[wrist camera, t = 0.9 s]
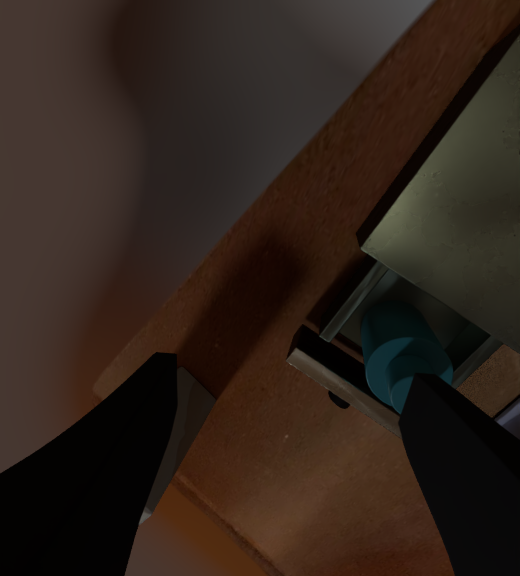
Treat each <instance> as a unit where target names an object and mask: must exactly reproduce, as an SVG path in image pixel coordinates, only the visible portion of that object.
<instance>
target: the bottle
mask: <svg viewBox="0 0 520 576" xmlns="http://www.w3.org/2000/svg"><path fill="white" fill-rule="evenodd" d="M360 333H361V341H362V349H363V357H364V365H365V373H366V379H367V383H368V385H369V387H370V389H371V391H372V392H373V393H374V394H375V395H376V396H377V397H378V398H379V399H380V400H381V401H383V402H384V403H386V404H388V405H390V406H393V408H394V409H395V410H396V411H397V412H398V413H400V414H401V412H402V409H403V407H404V404H405V401H406V398H407V395H408V392H409V389H410V386H411V383H412V380H413V377H414V374H415V373H427V374H436V375H437V376H438V377H440V378H441V379H443V380H444V381H445V382H447V383H448V384H449V385H451V384H452V380H453V366H452V363H451V360H450V359H449V357H448V355H447V353H446V352H445V350H444V348H443V347H442V345H441V344H440V342H439V340H438V339H437V337H436V335H435V334H434V332H433V331H432V329H431V327H430V326H429V324H428V322H427V321H426V319H425V317H424V316H423V314H422V313H421V312H420V311H419V310H418V309H417V308H416V307H414V306H413V305H411V304H409V303H406V302H403V301H395V300H392V301H385V302H382V303H379V304H377V305H375V306H374V307H372V308H371V309H370V310H369V311H368V312H367V313H366V314H365V316H364V318H363V319H362V322H361V327H360Z"/></svg>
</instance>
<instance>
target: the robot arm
mask: <svg viewBox="0 0 520 576" xmlns="http://www.w3.org/2000/svg"><path fill="white" fill-rule="evenodd" d="M177 407H178V391H177V354H172V353H160V352H156V353H155V354H153V355H152V356H151V357H150V358H149V359H148V360H147V361H146V362H145V363H144V364H143V365H142V366H141V367H140V368H139V369H137V370H136V371H135V372H134V373H133V374H132V375H131V376H130V377H129V378H128V379H127V380H126V381H125V382H124V383H122V384H121V385H120V386H119V387H118V388H117V389H116V390H115V391H114V392H112V393H111V394H110V395H109V396H108V397H107V398H106V399H104V400H103V401H102V402H101V403H100V404H98V405H97V406H96V407H95V408H94V409H92V410H91V411H90V412H89V413H88V414H86V415H85V416H84V417H82V418H81V419H80V420H79V421H78V422H76V423H75V424H74V425H72V426H71V427H70V428H68V429H67V430H66V431H64V432H63V433H62V434H60V435H59V436H57V437H56V438H55V439H53V440H52V441H51V442H49V443H47V444H46V445H45V446H43V447H42V448H40V449H39V450H37V451H36V452H34V453H33V454H31V455H30V456H28V457H26V458H25V459H23V460H22V461H20V462H18V463H17V464H15V465H13V466H12V467H10V468H9V469H7V470H5V471H4V472H2V473H0V576H124V575H125V571H126V568H127V564H128V560H129V557H130V553H131V549H132V545H133V542H134V538H135V535H136V532H137V529H138V526H139V522H140V519H141V516H142V514H143V511H144V508H145V505H146V503H147V500H148V497H149V495H150V492H151V489H152V486H153V484H154V481H155V478H156V476H157V473H158V470H159V467H160V465H161V462H162V459H163V456H164V454H165V451H166V448H167V445H168V443H169V440H170V436H171V432H172V428H173V424H174V420H175V416H176V412H177ZM398 425H399V428H400V432H401V436H402V440H403V443H404V447H405V450H406V453H407V456H408V459H409V461H410V464H411V466H412V469H413V471H414V474H415V476H416V478H417V481H418V483H419V486H420V488H421V490H422V493H423V495H424V497H425V500H426V502H427V504H428V507H429V509H430V511H431V514H432V516H433V518H434V521H435V523H436V525H437V528H438V530H439V532H440V535H441V537H442V540H443V542H444V545H445V548H446V550H447V553H448V555H449V558H450V562H451V565H452V568H453V571H454V574H455V576H520V398H519V399H518V400H516V401H515V402H514V403H513V404H512V405H511V406H509V407H508V408H507V409H506V410H505V411H504V412H502V413H501V414H500V415H499V416H498V417H497V418H495V419H494V420H493V419H492V418H491V417H490V416H488V415H487V414H486V413H485V412H483V411H482V410H481V409H480V408H478V407H477V406H476V405H475V404H473V403H472V402H471V401H470V400H468V399H467V398H466V397H465V396H463V395H462V394H461V393H460V392H458V391H457V390H456V389H454V388H453V387H452V386H451V385H449V384H448V383H447V382H445V381H444V380H443V379H441V378H440V377H438V376H437V375H436V374H427V373H415V374H414V377H413V380H412V383H411V386H410V389H409V392H408V395H407V398H406V401H405V404H404V407H403V409H402V412H401V415H400V418H399V421H398Z"/></svg>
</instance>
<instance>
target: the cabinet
mask: <svg viewBox="0 0 520 576" xmlns="http://www.w3.org/2000/svg"><path fill="white" fill-rule="evenodd" d="M356 236H357V240H358V243H359V247H360V249H361V250H362V251H364V252H365V253H367V254H368V255H370V256H372V257H373V258H375V259H376V260H378V261H379V262H381V263H382V264H384V265H385V266H387V267H388V268H390V269H391V270H393V271H394V272H396V273H397V274H399V275H400V276H402V277H403V278H405V279H406V280H408V281H409V282H411V283H413V284H414V285H416V286H417V287H419V288H420V289H422V290H423V291H425V292H426V293H428V294H429V295H431V296H432V297H434V298H435V299H437V300H438V301H440V302H441V303H443V304H444V305H446V306H447V307H449V308H451V309H452V310H454V311H455V312H457V313H458V314H460V315H461V316H463V317H464V318H466V319H467V320H469V321H470V322H472V323H473V324H475V325H476V326H478V327H479V328H481V329H482V330H484V331H485V332H487V333H489V334H490V335H492V336H493V337H495V338H496V339H498V340H499V341H501V342H502V343H504V344H505V345H507V346H508V347H510V348H511V349H513V350H514V351H516V352H517V353H519V354H520V24H519V25H518V26H517V27H516V28H515V29H513V30H512V31H511V32H510V33H509V34H508V35H507V36H506V37H504V38H503V39H502V40H501V41H500V42H499V43H498V44H497V45H495V46H494V47H493V48H492V49H491V50H490V51H489V52H488V53H486V55H485V56H484V57H483V59H482V60H481V62H480V63H479V64H478V66H477V67H476V68H475V70H474V71H473V73H472V74H471V75H470V77H469V78H468V79H467V81H466V82H465V84H464V85H463V86H462V88H461V89H460V90H459V92H458V93H457V95H456V96H455V97H454V99H453V100H452V101H451V103H450V104H449V106H448V107H447V108H446V110H445V111H444V112H443V114H442V115H441V117H440V118H439V119H438V121H437V122H436V123H435V125H434V126H433V128H432V129H431V130H430V132H429V133H428V135H427V136H426V137H425V139H424V140H423V141H422V143H421V144H420V146H419V147H418V148H417V150H416V151H415V152H414V154H413V155H412V157H411V158H410V159H409V161H408V162H407V163H406V165H405V166H404V168H403V169H402V170H401V172H400V173H399V174H398V176H397V177H396V179H395V180H394V181H393V183H392V184H391V185H390V187H389V188H388V190H387V191H386V192H385V194H384V195H383V196H382V198H381V199H380V201H379V202H378V203H377V205H376V206H375V207H374V209H373V210H372V212H371V213H370V214H369V216H368V217H367V218H366V220H365V221H364V223H363V224H362V225H361V227H360V228H359V229H358V231H357V232H356Z"/></svg>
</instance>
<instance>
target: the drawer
mask: <svg viewBox="0 0 520 576" xmlns="http://www.w3.org/2000/svg"><path fill="white" fill-rule="evenodd" d="M392 300H395V301H403V302H406V303H409V304H411V305H413V306H414V307H416V308H417V309H418V310H419V311H420V312H421V313H422V314H423V316H424V317H425V319H426V321H427V322H428V324H429V326H430V327H431V329H432V331H433V332H434V334H435V335H436V337H437V339H438V340H439V342H440V344H441V345H442V347H443V348H444V350H445V352H446V353H447V355H448V357H449V359H450V360H451V363H452V366H453V380H452V384H451V386H452V387H453V388H454V389H456V388H457V387H458V386H460V385H461V384H462V383H463V382H464V381H465V380H466V379H467V378H468V377H469V376H470V375H471V374H472V373H473V372H474V371H475V370H476V369H477V368H478V367H479V366H481V365H482V364H483V363H484V362H485V361H486V360H487V359H488V358H489V357H490V356H491V355H492V354H493V353H494V352H495V351H496V350H497V349H498V348H499V347H500V346H501V345H503V344H504V343H502V342H501V341H499V340H498V339H496V338H495V337H493V336H492V335H490V334H489V333H487V332H485V331H484V330H482V329H481V328H479V327H478V326H476V325H475V324H473V323H472V322H470V321H469V320H467V319H466V318H464V317H463V316H461V315H460V314H458V313H457V312H455V311H454V310H452V309H451V308H449V307H447V306H446V305H444V304H443V303H441V302H440V301H438V300H437V299H435V298H434V297H432V296H431V295H429V294H428V293H426V292H425V291H423V290H422V289H420V288H419V287H417V286H416V285H414V284H413V283H411V282H409V281H408V280H406V279H405V278H403V277H402V276H400V275H399V274H397V273H396V272H394V271H393V270H391V269H390V268H388V267H387V266H385V265H384V264H382V263H381V262H379V261H378V260H376V259H375V258H373V257H372V256H370V255H368V256H367V257H366V259H365V260H364V261H363V263H362V264H361V265H360V266H359V268H358V269H357V270H356V272H355V273H354V274H353V276H352V277H351V278H350V280H349V281H348V282H347V284H346V285H345V286H344V287H343V289H342V290H341V291H340V293H339V294H338V295H337V297H336V298H335V299H334V301H333V302H332V303H331V304H330V306H329V307H328V308H327V310H326V311H325V312H324V314H323V315H322V317H321V325H320V332H319V334H317V333H316V332H314V331H313V330H311V329H310V328H308V327H307V326H305V325H304V324H302V325H301V326H300V328H299V329H298V330H297V332H296V333H295V334H294V336H293V339H292V342H291V345H290V349H289V352H288V355H287V358H286V362H288V363H289V364H291V365H292V366H294V367H295V368H297V369H298V370H300V371H301V372H303V373H304V374H306V375H307V376H309V377H310V378H312V379H313V380H315V381H316V382H318V383H319V384H321V385H322V386H324V387H325V388H327V389H328V390H329V392H328V394H329V397H330V399H331V400H332V401H333V402H334V403H335V404H336V405H337V406H339V407H340V408H343V409H346V408H348V407H349V406H350V405H352V406H353V407H355V408H356V409H358V410H359V411H361V412H362V413H364V414H365V415H367V416H368V417H370V418H371V419H373V420H374V421H376V422H377V423H379V424H380V425H382V426H383V427H385V428H386V429H388V430H389V431H390V432H392V433H393V434H395V435H396V436H398V437H399V438H401V439H402V436H401V432H400V428H399V425H398V421H399V418H400V415H401V414H400V413H398V412H397V411H396V410H395V409H394V408H393V406H390V405H388V404H386V403H384V402H383V401H381V400H380V399H379V398H378V397H377V396H376V395H375V394H374V393H373V392H372V391H371V389H370V387H369V385H368V383H367V379H366V373H365V365H364V364H362V363H361V362H359V361H358V360H356V359H355V358H353V357H352V356H350V355H349V354H347V353H346V352H344V351H343V350H341V349H340V348H338V347H337V346H335V345H334V344H332V343H331V341H332V339H333V338H334V337H335V336H336V334H337V333H338V332H339V333H340V334H342V335H343V336H345V337H346V338H348V339H349V340H351V341H352V342H354V343H355V344H357V345H358V346H360V347H361V348H362V341H361V333H360V327H361V322H362V319H363V318H364V316H365V314H366V313H367V312H368V311H369V310H370V309H371V308H372V307H374V306H375V305H377V304H379V303H382V302H385V301H392Z"/></svg>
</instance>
